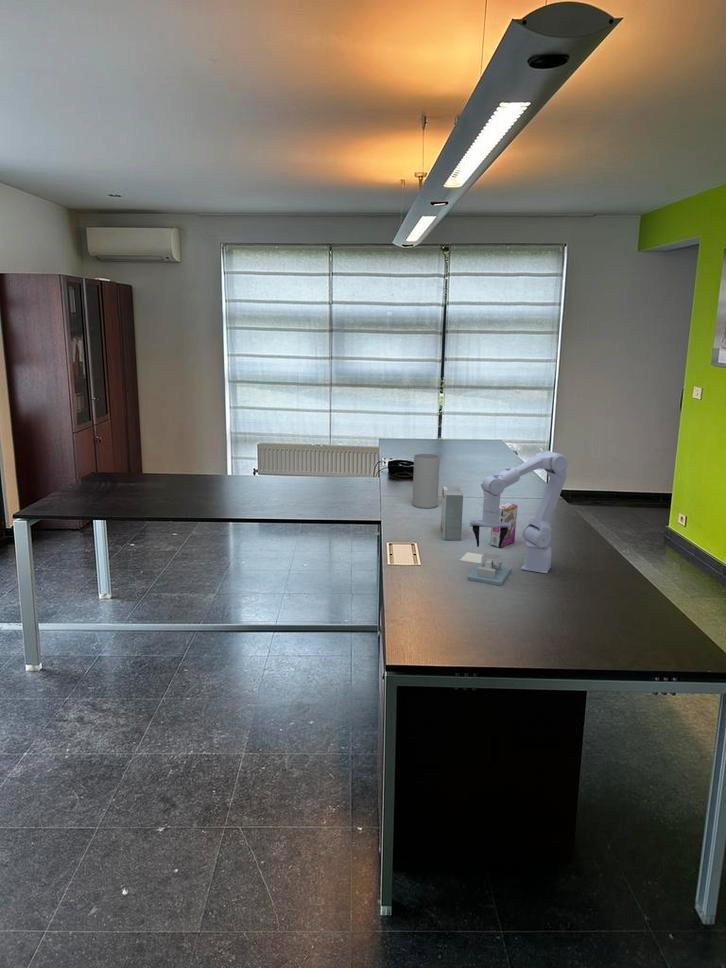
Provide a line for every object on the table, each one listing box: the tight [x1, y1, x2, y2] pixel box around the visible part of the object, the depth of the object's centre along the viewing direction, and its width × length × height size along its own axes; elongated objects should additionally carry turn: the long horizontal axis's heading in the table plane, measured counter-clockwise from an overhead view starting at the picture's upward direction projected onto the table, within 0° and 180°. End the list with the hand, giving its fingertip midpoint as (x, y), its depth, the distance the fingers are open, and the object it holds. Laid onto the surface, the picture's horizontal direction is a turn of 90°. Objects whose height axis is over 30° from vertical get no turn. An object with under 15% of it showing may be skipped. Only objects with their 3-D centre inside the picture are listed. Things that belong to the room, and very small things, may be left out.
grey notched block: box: [481, 552, 501, 569], centre depth 242 cm, size 6×4×4 cm
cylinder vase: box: [412, 453, 441, 509], centre depth 334 cm, size 12×12×25 cm
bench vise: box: [466, 559, 512, 587], centre depth 243 cm, size 12×16×6 cm
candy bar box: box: [489, 502, 518, 549], centre depth 277 cm, size 11×5×16 cm, turn 134°
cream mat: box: [459, 551, 483, 565], centre depth 260 cm, size 10×10×1 cm
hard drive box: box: [440, 485, 464, 541], centre depth 288 cm, size 16×8×20 cm, turn 178°
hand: (488, 546), depth 243 cm, fingers open, 7 cm apart
